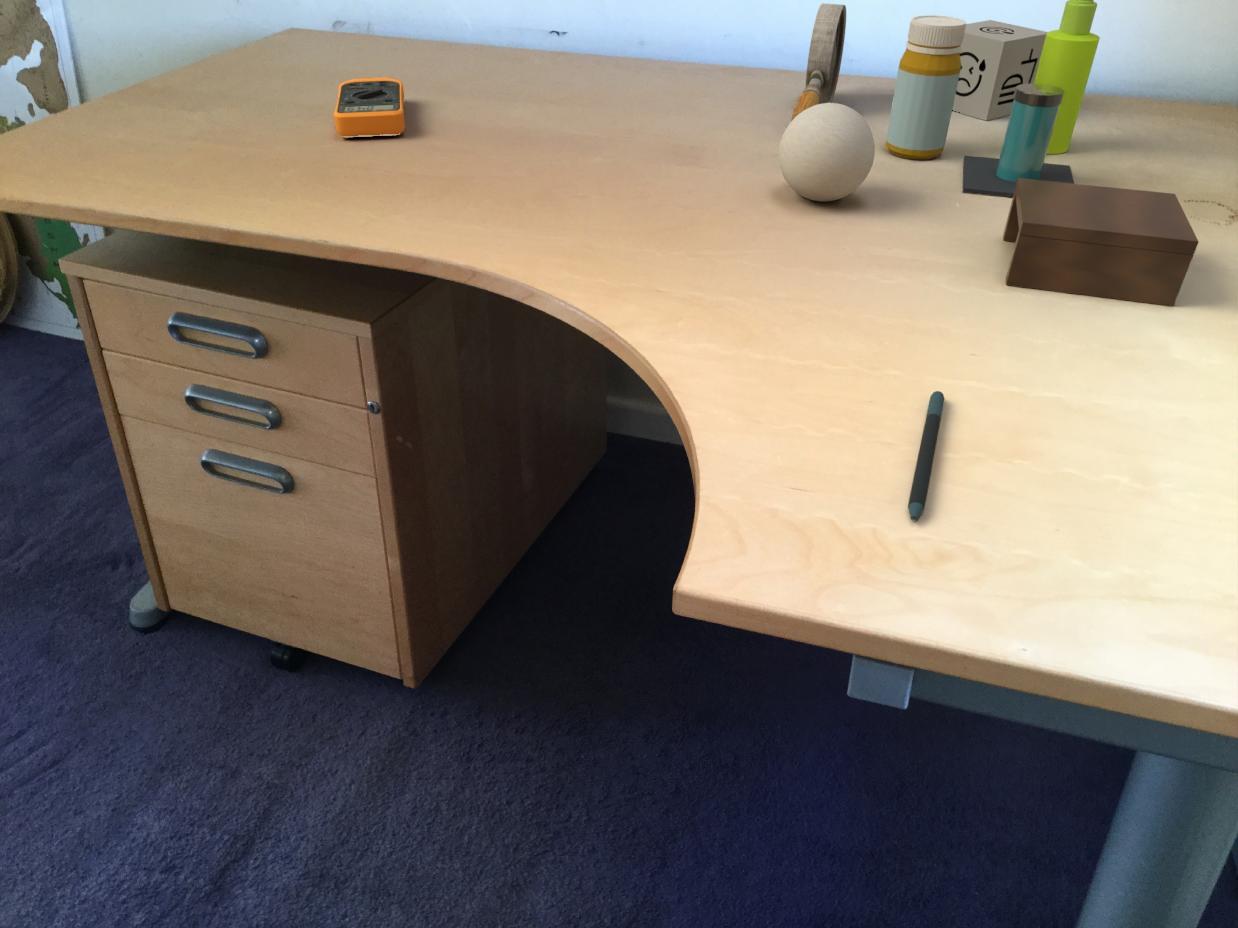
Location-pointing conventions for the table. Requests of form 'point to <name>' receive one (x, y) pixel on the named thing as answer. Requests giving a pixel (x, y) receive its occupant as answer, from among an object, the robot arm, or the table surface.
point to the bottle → (925, 87)
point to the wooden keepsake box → (1098, 241)
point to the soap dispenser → (1068, 66)
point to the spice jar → (1029, 131)
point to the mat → (985, 181)
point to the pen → (926, 456)
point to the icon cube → (995, 67)
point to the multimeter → (370, 107)
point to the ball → (826, 152)
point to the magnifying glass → (823, 57)
